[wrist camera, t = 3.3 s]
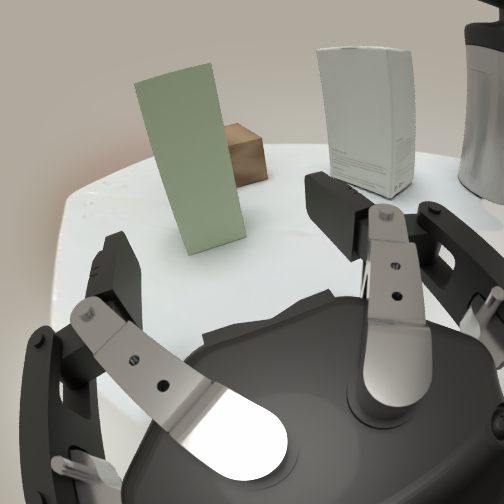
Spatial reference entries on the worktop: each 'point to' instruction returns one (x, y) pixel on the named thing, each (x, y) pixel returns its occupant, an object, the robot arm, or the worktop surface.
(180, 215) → the sage block
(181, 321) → the worktop surface
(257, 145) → the walnut riser block
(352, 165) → the skincare box
